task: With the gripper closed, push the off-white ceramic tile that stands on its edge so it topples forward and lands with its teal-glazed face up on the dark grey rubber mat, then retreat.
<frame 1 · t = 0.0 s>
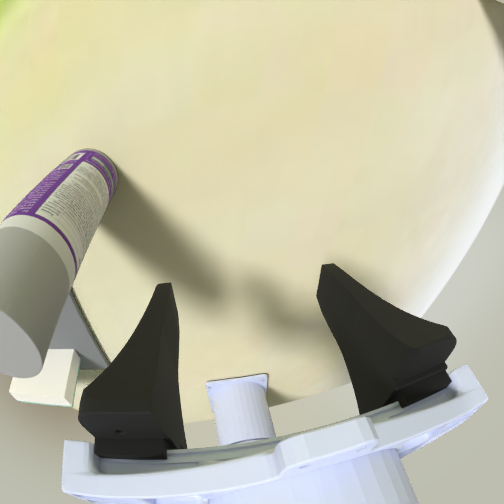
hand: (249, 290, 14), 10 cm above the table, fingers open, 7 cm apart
container: (89, 177, 19), on the table
mat: (28, 315, 25), on the table
tile: (50, 354, 27), point 1 cm above the table, touching mat
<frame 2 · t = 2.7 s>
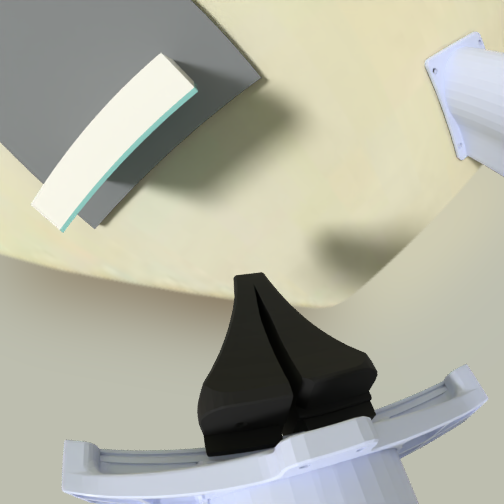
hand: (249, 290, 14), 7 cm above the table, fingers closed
mat: (69, 56, 12), on the table
tile: (131, 120, 15), point 1 cm above the table, touching mat
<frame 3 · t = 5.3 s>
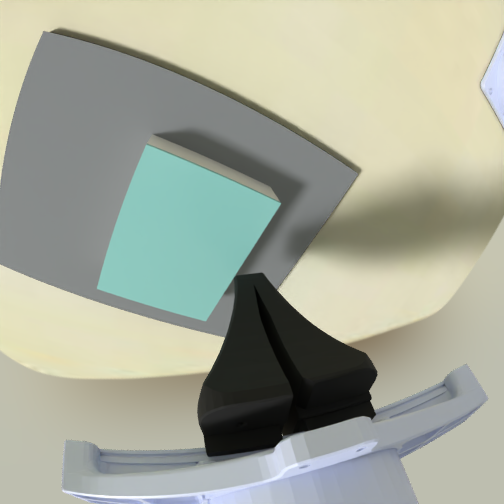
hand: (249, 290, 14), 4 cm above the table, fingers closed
mat: (149, 211, 15), on the table
tile: (235, 258, 16), point 2 cm above the table, tilted 90°, touching mat
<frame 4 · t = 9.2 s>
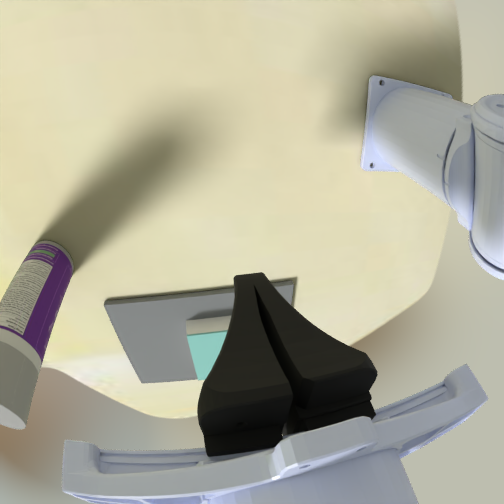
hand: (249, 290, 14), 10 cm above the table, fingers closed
container: (52, 261, 22), on the table
mat: (204, 339, 31), on the table
tile: (252, 345, 31), point 2 cm above the table, tilted 90°, touching mat
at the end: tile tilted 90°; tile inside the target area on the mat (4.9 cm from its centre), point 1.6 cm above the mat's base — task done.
